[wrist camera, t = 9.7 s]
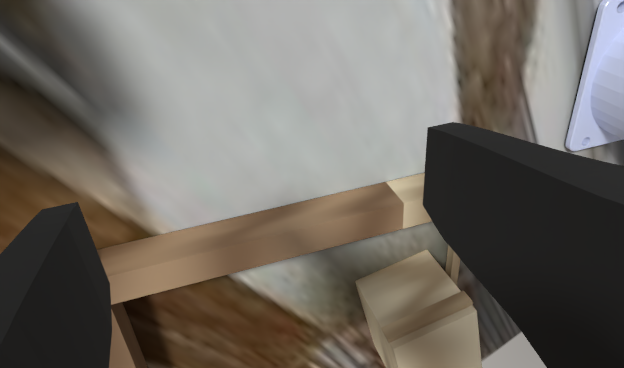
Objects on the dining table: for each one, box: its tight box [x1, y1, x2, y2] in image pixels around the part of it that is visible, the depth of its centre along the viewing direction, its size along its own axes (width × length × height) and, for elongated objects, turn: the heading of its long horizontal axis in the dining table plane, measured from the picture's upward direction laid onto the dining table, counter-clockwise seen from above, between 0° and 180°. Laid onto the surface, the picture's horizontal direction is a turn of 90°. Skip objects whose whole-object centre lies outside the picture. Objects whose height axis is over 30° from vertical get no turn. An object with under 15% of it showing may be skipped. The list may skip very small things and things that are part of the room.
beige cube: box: [355, 250, 482, 368], centre depth 27 cm, size 5×6×5 cm
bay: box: [97, 173, 460, 368], centre depth 27 cm, size 20×17×2 cm
